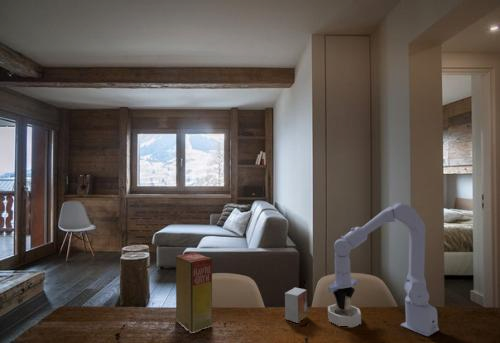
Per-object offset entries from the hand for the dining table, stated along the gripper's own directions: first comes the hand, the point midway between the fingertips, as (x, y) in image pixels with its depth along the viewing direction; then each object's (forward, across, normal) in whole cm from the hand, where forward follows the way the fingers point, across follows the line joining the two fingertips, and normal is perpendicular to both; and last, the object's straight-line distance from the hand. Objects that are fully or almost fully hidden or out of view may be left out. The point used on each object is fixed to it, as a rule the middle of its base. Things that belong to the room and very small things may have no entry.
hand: (343, 307), depth 114 cm
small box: (+5, +14, -11) cm, 18 cm away
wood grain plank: (+3, 0, 0) cm, 3 cm away
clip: (+4, 0, 0) cm, 4 cm away
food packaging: (+5, +48, -30) cm, 57 cm away
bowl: (+4, 0, 0) cm, 4 cm away
